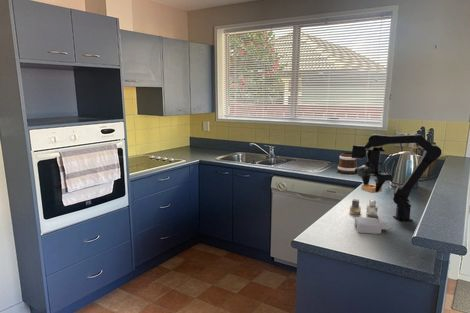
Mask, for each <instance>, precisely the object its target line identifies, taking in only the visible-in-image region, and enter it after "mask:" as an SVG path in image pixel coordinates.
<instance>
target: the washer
mask: <svg viewBox="0 0 470 313" xmlns="http://www.w3.org/2000/svg"><path fill="white" fill-rule="evenodd" d="M360 189H361V190H362V191H364V192H367V193H370V194H373V193H374V194H375V193H376V184H373V183H369V184H367V185H364V184H362V185H361V188H360ZM382 189H383V186H382V187H381V188H380V190H379V191H378V192H377V193H381V192H382V191H383V190H382Z"/></svg>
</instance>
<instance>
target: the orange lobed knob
mask: <svg viewBox="0 0 470 313" xmlns="http://www.w3.org/2000/svg"><path fill="white" fill-rule="evenodd" d="M378 212H379V206H377V200H373V199H371V200H369V204H368V205H366V212H365V214H366V217H369V218H376V217H378V214H379V213H378Z"/></svg>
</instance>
